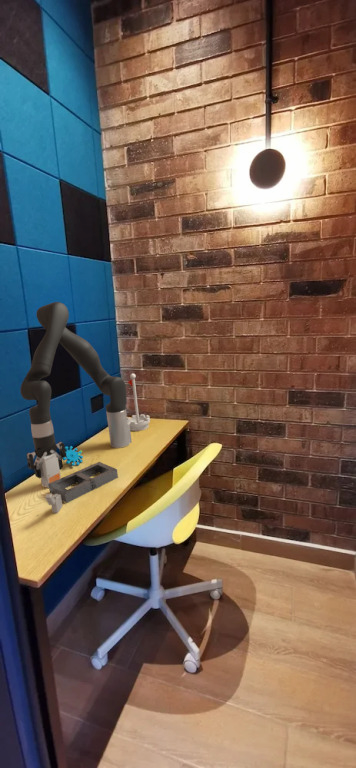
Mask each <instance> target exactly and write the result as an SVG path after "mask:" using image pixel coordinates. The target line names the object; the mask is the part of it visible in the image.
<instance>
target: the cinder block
mask: <svg viewBox="0 0 356 768" xmlns="http://www.w3.org/2000/svg"><path fill="white" fill-rule="evenodd" d="M97 474H98V475H97ZM118 478H119V475H118V469H117V468H116V467H113V466H109V465H108V464H106V463H103V462H100V461H98V462H95V463H93V464H91V465H88V466H86V467H84V468H82V469H79V470H77V471H75V472H72V473H70V474H67V475H66V476H63V477H61V479H58V480H56V481H54V482H52V483H49V484H48V485H49V488H48V491H49V494H52V496H54V494H58V495H61V500H62V502H64V503H66V504H68V503H70V502H72V501H74V500H76V499H78V498H80V497H81V496H84V495H86V494H88V493H90V492H93V491H94V490H96V489H98V488H100V487H102V486H104V485H106V484H108V483H110V482H113V481H114V480H116V479H118ZM75 484H77V485H75ZM71 486H73V487H71ZM69 487H70V488H69ZM67 488H68V489H67Z"/></svg>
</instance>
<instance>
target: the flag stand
mask: <svg viewBox="0 0 356 768" xmlns="http://www.w3.org/2000/svg"><path fill="white" fill-rule="evenodd" d="M129 377H130V380H128V381H127V383H128V384H129V385H130V386H132V392H133V401H134V402H133V403H134V409H135V415H134V414H132V415H131V417H128V416H127V421H128V423H129V424H130V432H132V431H133V432H139V431H144V430H146V429H148V428H149V424H150V422H151V419H150V417H151V416H150V415H148V414H147V415H145V414H140V415H139V413H140V412H139V407H138V406H139V405H138V397H137V396H138V395H137V387H136V380H135V379H136V377H137V376H136V374H135V373H130V376H129Z"/></svg>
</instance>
